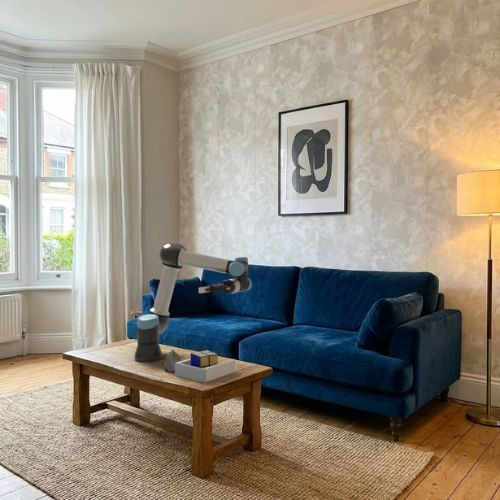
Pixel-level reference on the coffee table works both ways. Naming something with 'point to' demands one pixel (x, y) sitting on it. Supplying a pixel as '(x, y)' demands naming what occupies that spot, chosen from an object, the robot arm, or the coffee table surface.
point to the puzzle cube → (204, 359)
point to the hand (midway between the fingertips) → (199, 290)
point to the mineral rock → (171, 361)
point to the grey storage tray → (203, 370)
